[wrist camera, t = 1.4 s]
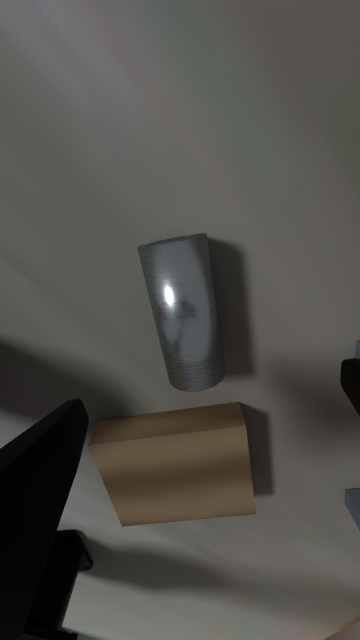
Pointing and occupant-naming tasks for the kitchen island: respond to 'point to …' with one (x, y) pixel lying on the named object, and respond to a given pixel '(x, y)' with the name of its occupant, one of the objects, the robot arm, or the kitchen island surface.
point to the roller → (185, 310)
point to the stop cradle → (356, 499)
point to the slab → (176, 464)
